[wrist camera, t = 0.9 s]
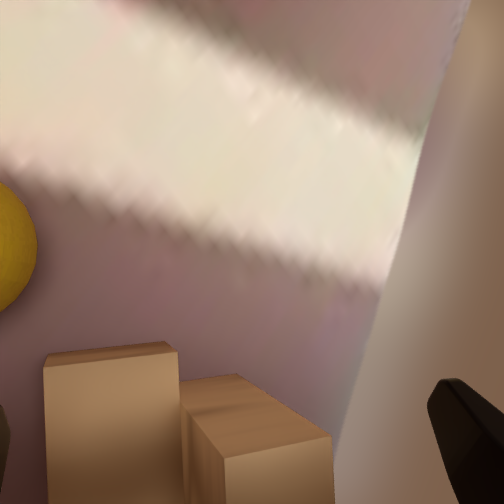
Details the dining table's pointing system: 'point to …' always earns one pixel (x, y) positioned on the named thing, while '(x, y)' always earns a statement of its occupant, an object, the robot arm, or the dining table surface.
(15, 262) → the lemon
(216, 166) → the dining table surface
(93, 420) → the stepped wooden corner piece
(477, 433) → the robot arm
